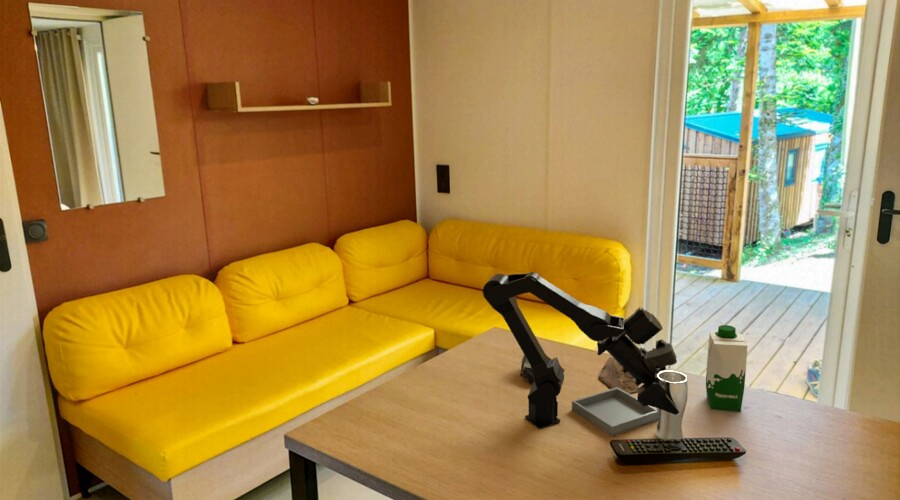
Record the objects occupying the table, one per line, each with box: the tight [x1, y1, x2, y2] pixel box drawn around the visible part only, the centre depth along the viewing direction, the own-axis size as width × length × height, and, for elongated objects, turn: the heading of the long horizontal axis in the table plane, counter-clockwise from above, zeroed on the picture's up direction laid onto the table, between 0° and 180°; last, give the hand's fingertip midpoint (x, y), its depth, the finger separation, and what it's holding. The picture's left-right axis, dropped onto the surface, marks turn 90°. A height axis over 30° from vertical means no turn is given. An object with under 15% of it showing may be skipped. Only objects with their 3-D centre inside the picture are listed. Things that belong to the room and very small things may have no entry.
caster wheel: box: [520, 354, 534, 385], centre depth 180 cm, size 7×11×10 cm
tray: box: [571, 387, 658, 437], centre depth 158 cm, size 15×15×2 cm
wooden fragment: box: [598, 356, 640, 395], centre depth 180 cm, size 26×11×1 cm, turn 169°
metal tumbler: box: [655, 370, 689, 440], centre depth 146 cm, size 7×7×15 cm
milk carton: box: [705, 324, 748, 413], centre depth 159 cm, size 9×9×20 cm
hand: (677, 404), depth 145 cm, fingers open, 8 cm apart
